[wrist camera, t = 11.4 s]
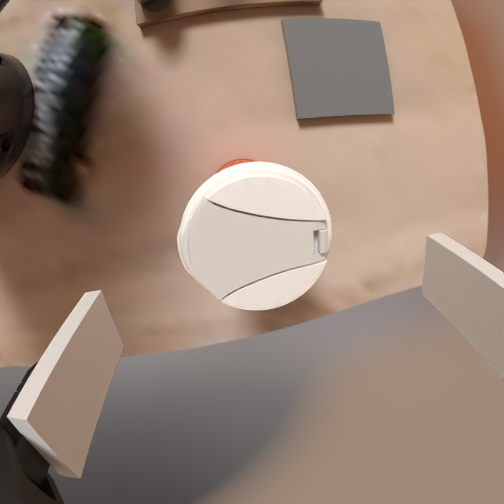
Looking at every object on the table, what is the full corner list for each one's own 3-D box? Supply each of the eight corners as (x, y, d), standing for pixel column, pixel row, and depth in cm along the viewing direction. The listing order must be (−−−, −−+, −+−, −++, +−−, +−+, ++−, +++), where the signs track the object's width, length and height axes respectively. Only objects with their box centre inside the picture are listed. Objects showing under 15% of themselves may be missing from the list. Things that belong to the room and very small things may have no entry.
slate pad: (296, 119, 27) (298, 118, 27) (280, 21, 23) (282, 18, 23) (390, 114, 28) (394, 114, 27) (376, 23, 24) (379, 21, 23)
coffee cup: (283, 143, 28) (340, 159, 14) (288, 227, 31) (337, 308, 17) (192, 151, 28) (161, 175, 14) (202, 236, 31) (188, 326, 17)
